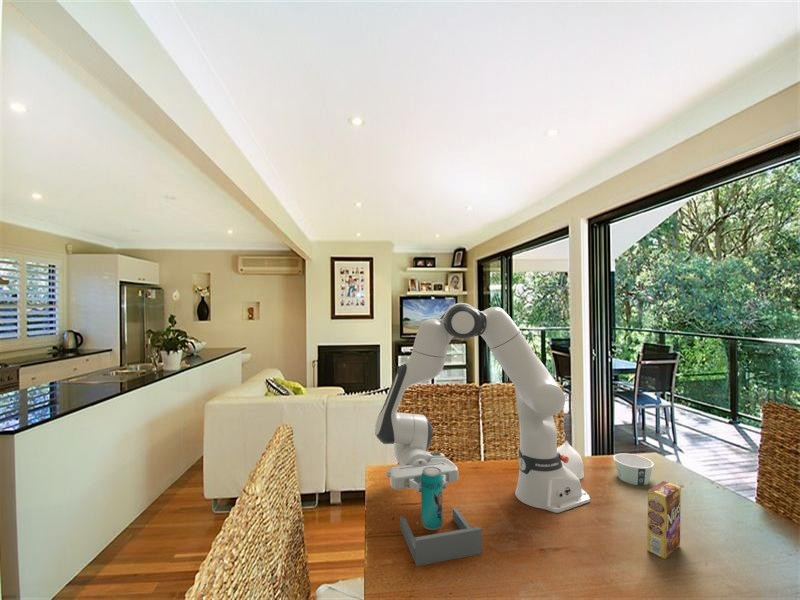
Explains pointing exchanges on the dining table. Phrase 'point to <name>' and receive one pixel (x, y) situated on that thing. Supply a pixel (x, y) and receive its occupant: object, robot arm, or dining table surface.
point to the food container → (633, 468)
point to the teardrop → (572, 460)
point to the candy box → (663, 519)
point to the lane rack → (444, 542)
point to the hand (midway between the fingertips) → (432, 487)
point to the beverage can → (431, 498)
